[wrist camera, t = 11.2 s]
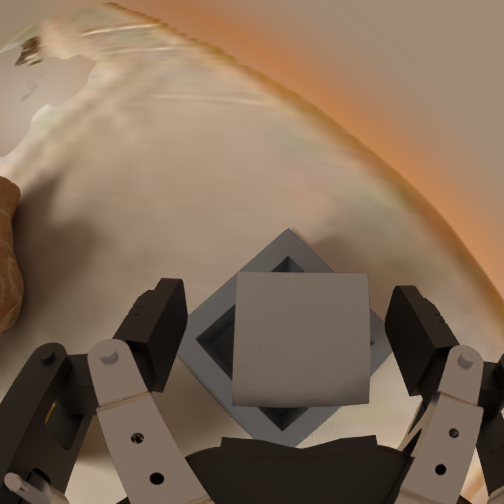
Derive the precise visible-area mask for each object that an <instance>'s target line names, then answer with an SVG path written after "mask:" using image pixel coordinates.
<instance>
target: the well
mask: <svg viewBox="0 0 504 504" xmlns="http://www.w3.org/2000/svg"><path fill="white" fill-rule="evenodd" d="M239 272H284V273H335V272H334V271H332V270H331V269H330V268H329V267H328V266H327V265H326V264H325V263H324V262H323V261H322V260H321V259H320V258H319V257H318V256H317V255H316V254H315V253H314V252H313V251H312V250H311V249H310V248H309V247H308V246H307V245H306V244H305V243H304V242H303V241H301V240H300V239H299V238H298V237H297V236H296V235H295V234H294V233H293V232H292V231H291V230H290V229H289V228H288V229H287V230H285V231H284V232H283V233H282V234H280V235H279V236H278V237H277V238H276V239H275V240H274V241H273V242H271V243H270V244H269V245H268V246H267V247H266V248H265V249H264V250H262V251H261V252H260V253H259V254H258V255H257V256H256V257H255V258H253V259H252V260H251V261H250V262H249V263H248V264H247V265H245V266H244V267H243V268H242V269H241V270H240V271H239ZM236 290H237V273H236V274H235V275H234V276H233V277H232V278H231V279H230V280H229V281H227V282H226V283H225V284H224V285H223V286H222V287H221V288H220V289H218V290H217V291H216V292H215V293H214V294H213V295H212V296H210V297H209V298H208V299H207V300H206V301H205V302H204V303H203V304H201V305H200V306H199V307H198V308H197V309H196V310H195V311H193V312H192V313H191V314H190V315H189V316H188V321H187V327H186V330H185V333H184V335H183V338H182V341H181V343H180V346H179V349H178V352H177V354H176V355H177V356H178V357H179V358H180V359H181V361H182V362H183V363H184V364H185V365H186V367H187V368H188V369H189V370H190V371H191V373H192V374H193V375H194V376H195V377H196V378H197V380H198V381H199V382H200V383H201V384H202V385H203V386H204V387H205V389H206V390H207V391H208V392H209V393H210V394H211V395H212V396H213V397H214V399H215V400H216V401H217V402H218V403H219V404H220V405H221V406H222V407H223V408H224V409H225V410H226V411H227V412H228V413H229V415H230V416H231V417H232V418H233V419H234V420H235V421H236V422H237V423H238V424H239V425H240V426H241V427H242V428H243V429H244V430H245V431H246V432H247V433H248V434H249V435H250V436H251V437H252V438H253V439H256V440H264V441H268V442H272V443H276V444H280V445H285V446H289V447H296V446H297V445H298V444H299V443H301V442H302V441H303V440H304V439H305V438H307V437H308V436H309V435H310V434H311V433H312V432H314V431H315V430H316V429H317V428H318V427H319V426H320V425H321V424H323V423H324V422H325V421H326V420H327V419H328V418H329V417H330V416H331V415H332V414H333V413H335V412H336V411H337V410H338V409H339V408H340V407H341V406H330V407H301V408H275V407H246V406H231V404H232V378H233V354H234V331H235V310H236ZM391 353H392V348H391V346H390V343H389V341H388V338H387V336H386V333H385V323H384V322H383V321H382V320H381V319H380V318H379V317H378V316H377V315H376V314H375V313H374V312H373V311H372V310H371V309H370V376H371V375H372V374H373V373H374V372H375V371H376V370H377V369H378V367H379V366H380V365H381V364H382V363H383V362H384V361H385V360H386V358H387V357H388V356H389V355H390V354H391Z"/></svg>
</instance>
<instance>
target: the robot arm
mask: <svg viewBox="0 0 504 504" xmlns="http://www.w3.org/2000/svg"><path fill="white" fill-rule="evenodd" d="M187 321H188V313H187V306H186V299H185V291H184V284H183V281H182V279H174V278H161V280H160V281H159V283H158V284H157V286H156V288H155V289H154V290H148V291H146V292H145V293H143V294H142V295H141V296H139V297H138V299H137V300H136V302H135V303H134V305H133V308H131V309H130V311H129V313H128V315H127V316H126V317H125V319H124V320H123V322H122V324H121V325H120V327H119V328H118V330H117V332H116V333H115V335H114V336H113V338H112V339H108V340H104V341H101V342H99V343H97V344H96V345H94V346H93V347H92V348H91V350H90V351H89V353H88V354H79V355H68V354H67V352H66V350H65V348H64V347H63V346H62V345H61V344H59V343H47V344H44V345H42V346H40V347H38V348H37V349H36V350H35V351H34V352H33V354H32V355H31V356H30V358H29V359H28V361H27V362H26V364H25V365H24V367H23V368H22V370H21V371H20V373H19V374H18V376H17V378H16V379H15V381H14V382H13V384H12V386H11V387H10V389H9V390H8V392H7V394H6V395H5V397H4V399H3V400H2V402H1V404H0V504H69V501H68V500H67V498H66V496H65V495H64V494H65V491H66V488H67V485H68V482H69V479H70V476H71V473H72V470H73V467H74V464H75V461H76V458H77V456H78V453H79V450H80V447H81V445H82V442H83V440H84V437H85V434H86V432H87V429H88V427H89V424H90V422H91V419H92V417H93V415H98V419H99V422H100V425H101V428H102V432H103V435H104V438H105V441H106V443H107V446H108V449H109V452H110V455H111V457H112V460H113V463H114V465H115V468H116V470H117V473H118V475H119V478H120V480H121V482H122V485H123V487H124V489H125V492H126V494H127V496H128V497H126V498H124V499H123V500H121V501H120V502H118V503H116V504H472V503H470V502H469V501H468V500H466V499H465V498H464V497H462V496H461V495H460V492H461V489H462V487H463V484H464V481H465V478H466V475H467V472H468V469H469V466H470V463H471V460H472V456H473V453H474V449H475V446H476V449H477V452H478V455H479V459H480V463H481V466H482V470H483V474H484V478H485V482H486V486H487V490H488V496H489V499H488V501H487V504H504V419H503V416H502V414H501V411H502V409H503V408H504V354H503V355H502V356H501V358H500V360H499V361H498V363H492V362H484V361H483V359H482V357H481V356H480V354H479V353H478V352H477V351H476V350H474V349H473V348H471V347H468V346H464V345H460V344H459V343H458V341H457V339H456V338H455V336H454V334H453V333H452V331H451V330H450V328H449V326H448V325H447V323H445V320H444V319H443V317H442V316H440V313H439V311H438V310H437V308H436V307H435V305H434V304H432V303H431V302H430V301H429V300H427V299H426V298H423V297H422V295H421V294H420V292H419V291H418V289H417V288H416V287H415V286H396V287H395V288H394V290H393V294H392V297H391V301H390V304H389V308H388V311H387V314H386V318H385V333H386V336H387V338H388V341H389V343H390V346H391V348H392V351H393V353H394V356H395V358H396V361H397V363H398V366H399V369H400V371H401V374H402V377H403V379H404V382H405V385H406V388H407V391H408V393H409V396H417V395H421V396H422V401H421V402H420V404H419V406H418V408H417V410H416V413H415V415H414V417H413V419H412V422H411V424H410V426H409V428H408V430H407V432H406V434H405V436H404V438H403V440H402V442H401V444H400V445H399V447H398V448H397V449H394V448H391V447H387V446H383V445H377V440H376V435H371V436H362V437H352V438H340V439H337V440H334V441H330V442H327V443H323V444H320V445H316V446H312V447H308V448H303V449H300V448H294V447H289V446H285V445H280V444H276V443H272V442H268V441H264V440H256V439H240V438H228V437H222V440H221V446H220V447H213V448H209V449H204V450H201V451H198V452H195V453H193V454H190V455H188V456H186V457H185V458H184V456H183V454H182V453H181V451H180V449H179V448H178V446H177V444H176V442H175V441H174V439H173V437H172V435H171V433H170V431H169V430H168V428H167V426H166V424H165V422H164V420H163V418H162V416H161V414H160V412H159V410H158V408H157V406H156V404H155V402H154V400H153V398H152V396H151V392H152V391H155V392H161V393H163V391H164V388H165V385H166V382H167V379H168V376H169V374H170V371H171V368H172V365H173V363H174V360H175V357H176V354H177V352H178V349H179V346H180V343H181V341H182V338H183V335H184V333H185V330H186V327H187ZM54 402H55V403H56V404H55V406H54V408H53V410H52V412H51V414H50V416H49V418H48V420H47V422H46V424H45V421H46V417H47V415H48V413H49V411H50V409H51V407H52V405H53V403H54Z"/></svg>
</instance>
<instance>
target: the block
mask: <svg viewBox="0 0 504 504" xmlns="http://www.w3.org/2000/svg"><path fill="white" fill-rule="evenodd" d="M369 388H370V307H369V287H368V273H284V272H237V290H236V310H235V331H234V354H233V378H232V404H231V406H246V407H275V408H301V407H330V406H346V405H358V404H369Z"/></svg>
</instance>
